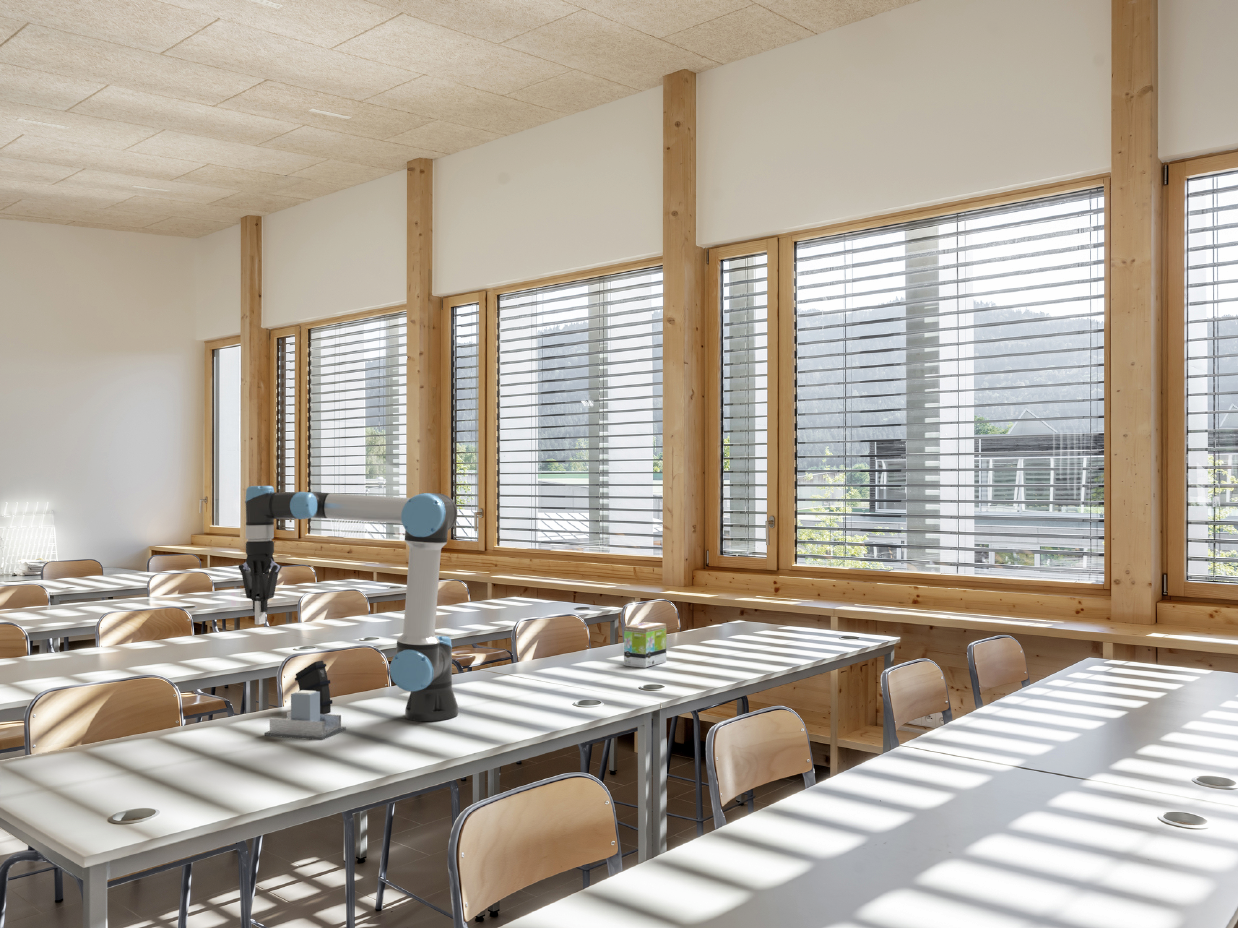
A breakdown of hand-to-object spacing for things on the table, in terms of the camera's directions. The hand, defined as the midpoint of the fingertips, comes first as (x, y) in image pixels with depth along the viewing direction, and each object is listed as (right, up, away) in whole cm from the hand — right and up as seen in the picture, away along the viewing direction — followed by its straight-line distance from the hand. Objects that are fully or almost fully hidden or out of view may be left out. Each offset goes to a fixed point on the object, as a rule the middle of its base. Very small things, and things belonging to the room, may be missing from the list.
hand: (260, 623), depth 272 cm
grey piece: (+16, -28, -10) cm, 34 cm away
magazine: (+10, -29, +16) cm, 35 cm away
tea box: (+111, -30, +86) cm, 144 cm away
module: (+16, -26, -10) cm, 32 cm away
